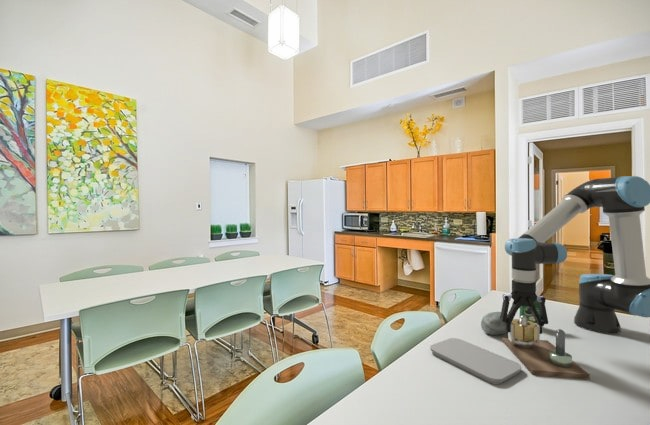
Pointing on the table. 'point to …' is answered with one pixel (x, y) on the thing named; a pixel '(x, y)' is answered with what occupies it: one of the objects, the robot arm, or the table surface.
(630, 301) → the robot arm
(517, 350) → the walnut plate
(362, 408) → the table surface
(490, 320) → the grey marbled egg
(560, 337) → the metal peg stand
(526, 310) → the coffee box
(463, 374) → the table surface
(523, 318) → the stand rod
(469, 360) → the tablet
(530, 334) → the tan boxy piece
